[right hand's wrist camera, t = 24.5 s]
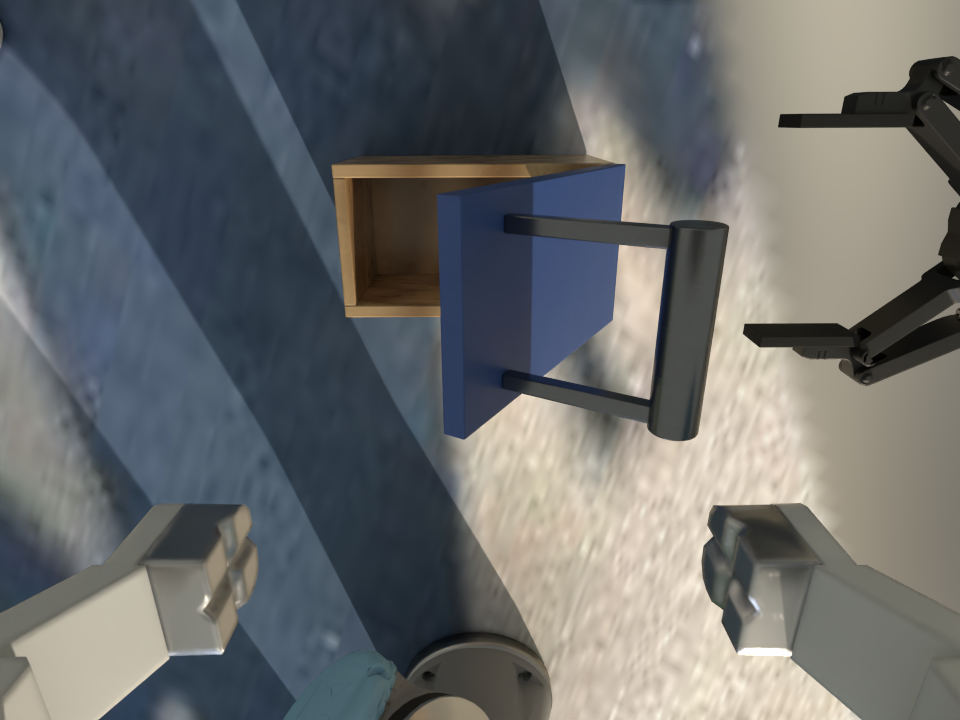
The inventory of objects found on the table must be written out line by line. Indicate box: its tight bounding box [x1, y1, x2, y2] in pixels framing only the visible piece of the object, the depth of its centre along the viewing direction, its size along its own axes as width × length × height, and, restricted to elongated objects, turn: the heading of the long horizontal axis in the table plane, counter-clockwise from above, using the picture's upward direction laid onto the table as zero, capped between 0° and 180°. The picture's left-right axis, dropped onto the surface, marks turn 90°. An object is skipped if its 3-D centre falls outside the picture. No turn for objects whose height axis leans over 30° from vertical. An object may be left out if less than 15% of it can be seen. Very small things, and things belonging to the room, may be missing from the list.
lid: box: [437, 164, 729, 441], centre depth 27 cm, size 17×9×9 cm
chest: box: [332, 155, 615, 317], centre depth 40 cm, size 16×9×9 cm, turn 90°
